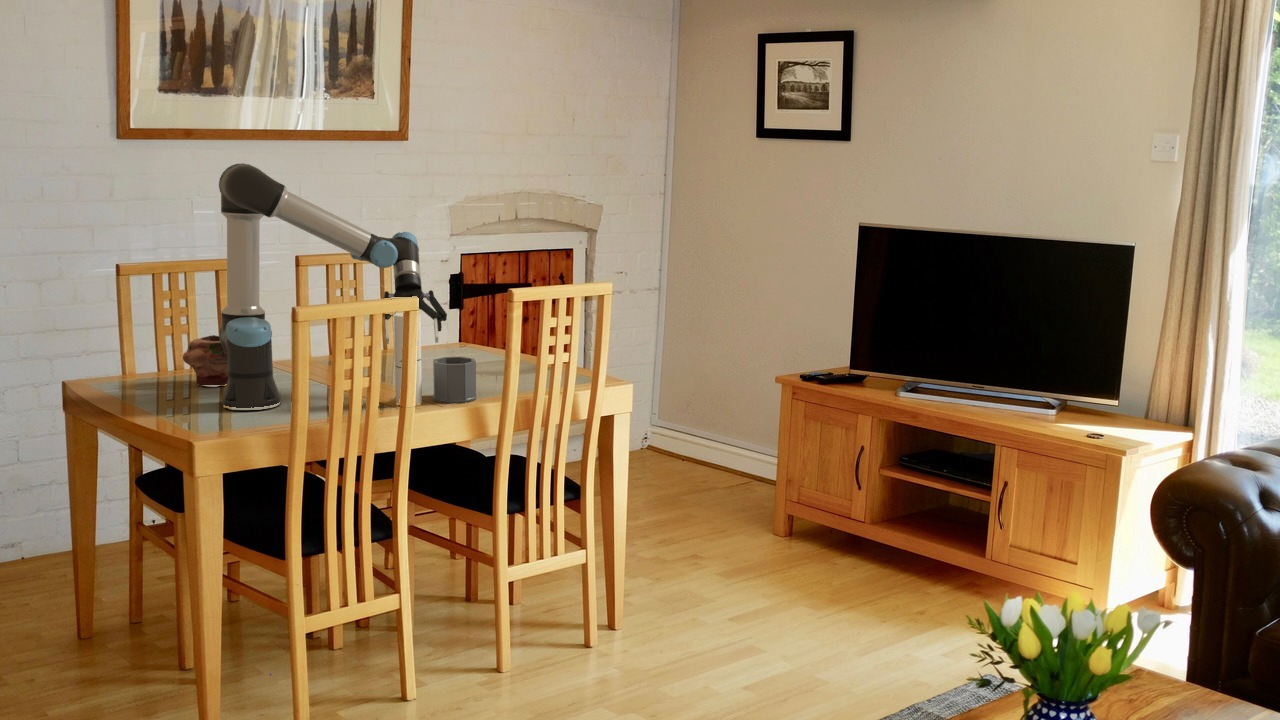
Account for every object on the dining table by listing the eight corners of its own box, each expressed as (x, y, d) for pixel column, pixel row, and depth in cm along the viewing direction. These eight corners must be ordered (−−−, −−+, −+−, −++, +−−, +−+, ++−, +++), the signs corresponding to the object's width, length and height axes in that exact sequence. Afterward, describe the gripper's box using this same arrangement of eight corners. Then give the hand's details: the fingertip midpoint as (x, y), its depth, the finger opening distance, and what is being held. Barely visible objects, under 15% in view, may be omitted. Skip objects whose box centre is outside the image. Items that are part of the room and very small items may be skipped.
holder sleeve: (434, 404, 342) (434, 365, 339) (432, 394, 353) (431, 357, 351) (478, 402, 344) (478, 364, 342) (474, 393, 356) (473, 356, 354)
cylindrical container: (416, 407, 338) (414, 317, 333) (391, 405, 339) (389, 315, 334) (425, 401, 345) (424, 313, 340) (401, 400, 346) (400, 312, 341)
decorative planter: (249, 377, 373) (247, 332, 370) (260, 384, 362) (258, 338, 360) (180, 383, 362) (178, 336, 360) (189, 391, 352) (186, 343, 349)
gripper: (450, 286, 360) (456, 346, 349) (363, 288, 354) (366, 349, 343) (452, 271, 354) (458, 331, 343) (363, 272, 348) (366, 334, 337)
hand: (412, 340), depth 343 cm, fingers open, 13 cm apart
